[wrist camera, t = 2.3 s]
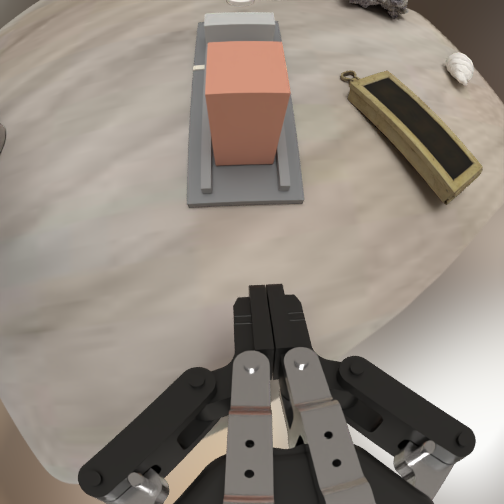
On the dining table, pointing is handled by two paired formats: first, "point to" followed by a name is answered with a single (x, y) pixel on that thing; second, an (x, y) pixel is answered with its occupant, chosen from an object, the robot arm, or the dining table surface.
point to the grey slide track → (200, 142)
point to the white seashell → (460, 67)
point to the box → (415, 132)
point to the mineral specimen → (386, 5)
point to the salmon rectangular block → (246, 100)
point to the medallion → (240, 2)
